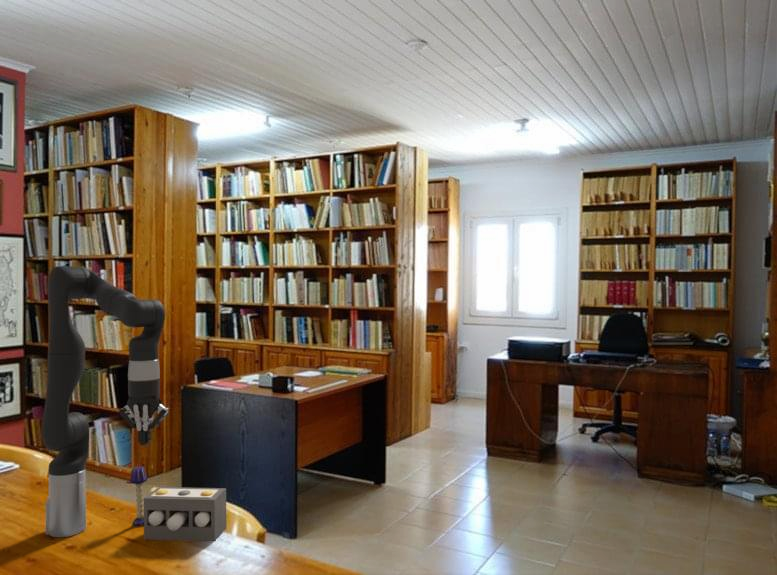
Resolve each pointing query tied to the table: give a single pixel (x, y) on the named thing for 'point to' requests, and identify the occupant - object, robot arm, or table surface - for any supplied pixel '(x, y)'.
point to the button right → (203, 518)
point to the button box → (193, 504)
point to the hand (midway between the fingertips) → (144, 444)
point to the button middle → (177, 520)
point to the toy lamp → (138, 492)
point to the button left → (157, 517)
